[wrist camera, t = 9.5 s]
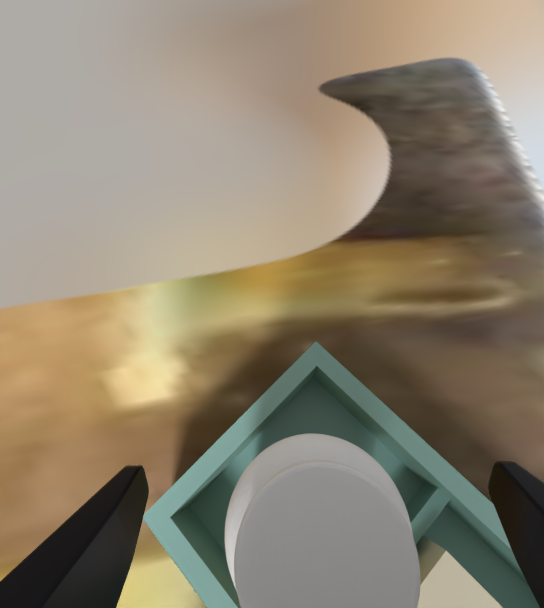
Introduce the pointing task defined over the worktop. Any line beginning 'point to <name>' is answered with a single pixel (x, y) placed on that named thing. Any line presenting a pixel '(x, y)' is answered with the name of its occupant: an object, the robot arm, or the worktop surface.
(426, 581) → the block
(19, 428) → the worktop surface
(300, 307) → the worktop surface
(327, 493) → the supplement bottle
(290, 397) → the divided tray
